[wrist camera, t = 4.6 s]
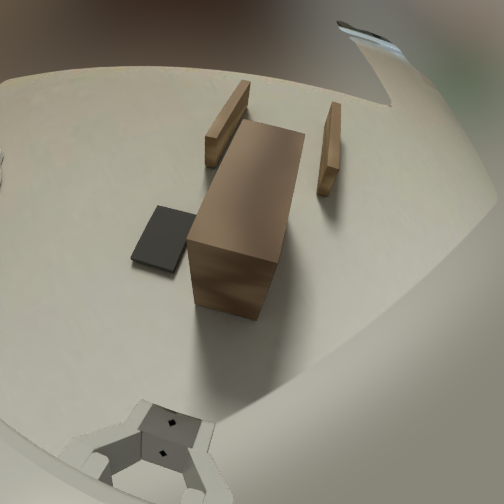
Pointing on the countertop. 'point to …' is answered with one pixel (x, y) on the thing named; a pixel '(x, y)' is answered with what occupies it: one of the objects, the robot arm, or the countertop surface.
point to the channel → (232, 115)
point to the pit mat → (164, 238)
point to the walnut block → (244, 220)
